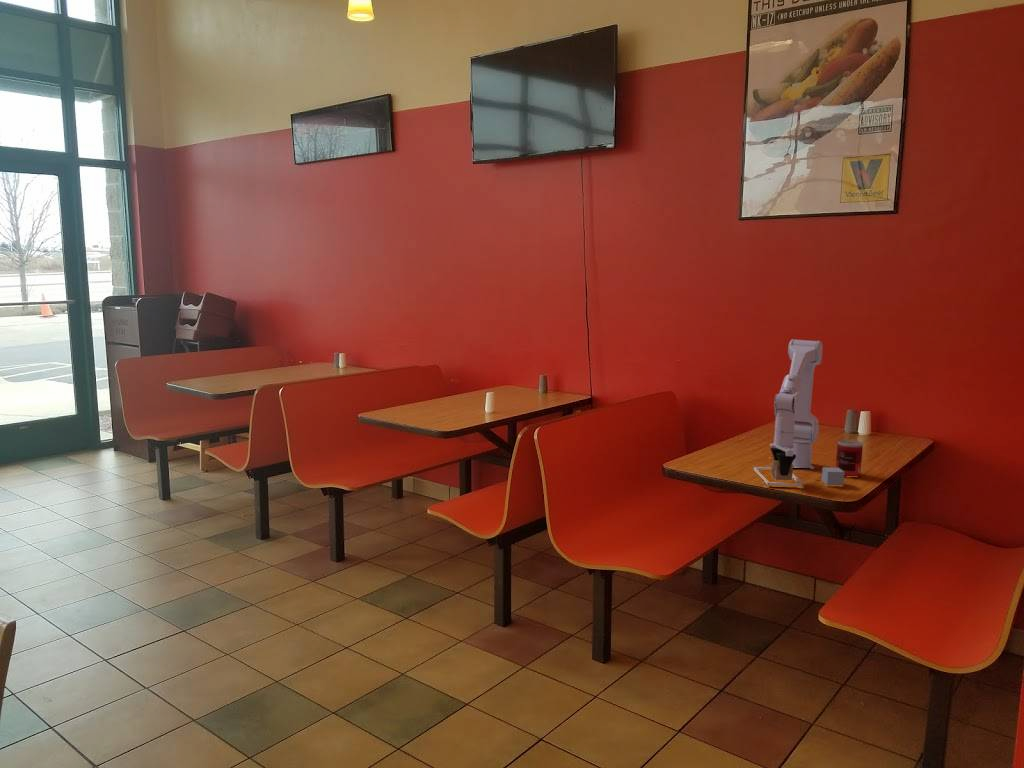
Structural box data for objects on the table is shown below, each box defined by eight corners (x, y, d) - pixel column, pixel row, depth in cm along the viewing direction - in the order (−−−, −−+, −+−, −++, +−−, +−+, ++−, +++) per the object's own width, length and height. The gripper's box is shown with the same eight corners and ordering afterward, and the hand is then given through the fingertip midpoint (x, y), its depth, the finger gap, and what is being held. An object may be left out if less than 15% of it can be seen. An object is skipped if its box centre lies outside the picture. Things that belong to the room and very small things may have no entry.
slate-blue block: (821, 482, 248) (822, 467, 248) (837, 482, 248) (838, 467, 247) (826, 487, 243) (828, 471, 243) (843, 487, 243) (844, 472, 242)
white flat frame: (753, 471, 260) (753, 466, 260) (786, 472, 259) (787, 467, 259) (767, 487, 242) (767, 482, 242) (803, 488, 241) (803, 483, 241)
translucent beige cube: (771, 475, 249) (772, 460, 248) (787, 475, 249) (788, 460, 248) (775, 479, 244) (776, 464, 243) (791, 480, 244) (793, 465, 243)
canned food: (853, 471, 261) (856, 439, 259) (864, 478, 253) (867, 445, 251) (830, 471, 261) (833, 439, 259) (841, 478, 253) (844, 445, 251)
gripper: (765, 425, 251) (762, 466, 254) (777, 435, 237) (774, 478, 239) (787, 426, 251) (784, 466, 253) (801, 436, 237) (798, 479, 239)
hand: (781, 472), depth 246 cm, fingers closed on translucent beige cube, 5 cm apart
